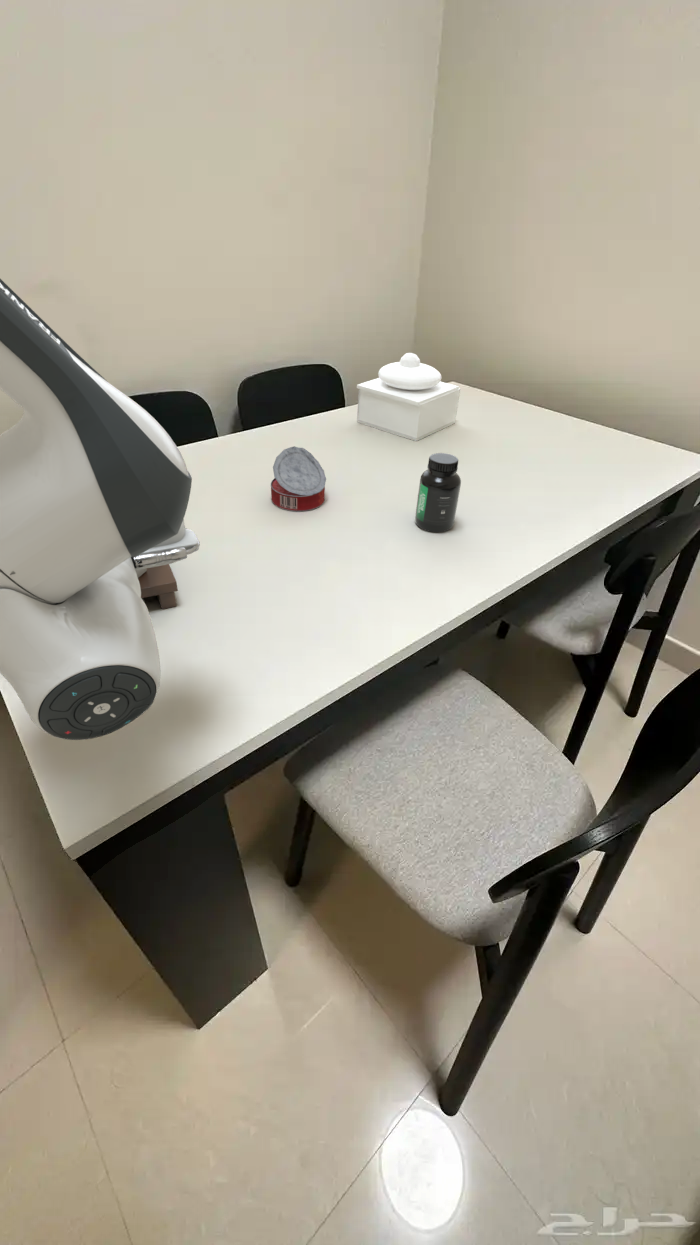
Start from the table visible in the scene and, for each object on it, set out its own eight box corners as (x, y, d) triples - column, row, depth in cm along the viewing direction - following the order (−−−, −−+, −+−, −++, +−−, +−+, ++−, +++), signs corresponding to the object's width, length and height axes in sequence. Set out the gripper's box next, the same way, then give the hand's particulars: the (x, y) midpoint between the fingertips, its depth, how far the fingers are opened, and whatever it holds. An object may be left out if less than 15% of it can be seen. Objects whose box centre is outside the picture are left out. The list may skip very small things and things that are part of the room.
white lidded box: (455, 422, 144) (465, 354, 134) (414, 441, 133) (423, 368, 123) (397, 406, 152) (403, 340, 143) (355, 422, 141) (358, 352, 131)
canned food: (316, 511, 113) (341, 469, 109) (308, 531, 105) (335, 486, 100) (264, 481, 111) (288, 436, 106) (252, 499, 103) (277, 451, 98)
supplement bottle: (415, 532, 100) (424, 465, 92) (413, 513, 105) (422, 449, 98) (455, 534, 99) (467, 468, 92) (451, 515, 105) (462, 451, 98)
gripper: (201, 520, 49) (167, 458, 58) (-85, 566, 41) (-70, 486, 51) (208, 582, 53) (175, 514, 62) (-52, 635, 45) (-43, 548, 55)
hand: (63, 502), depth 57 cm, fingers open, 8 cm apart
